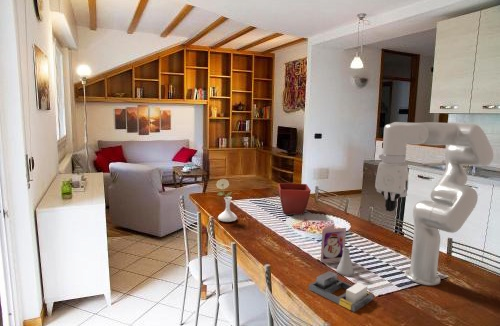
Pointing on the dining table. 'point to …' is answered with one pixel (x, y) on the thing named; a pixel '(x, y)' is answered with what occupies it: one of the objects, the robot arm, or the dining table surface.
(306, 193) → the plant pot
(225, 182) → the flower in vase
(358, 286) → the white block
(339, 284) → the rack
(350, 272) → the flask
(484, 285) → the dining table surface
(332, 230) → the greeting card
